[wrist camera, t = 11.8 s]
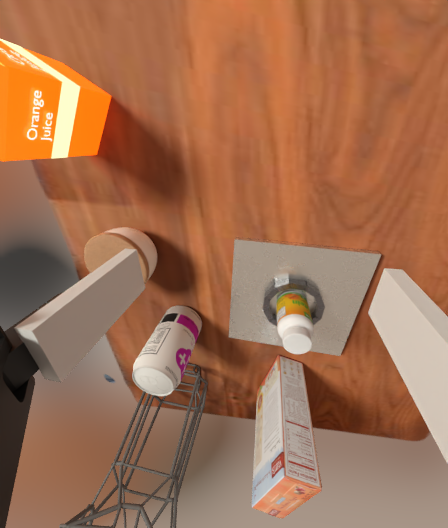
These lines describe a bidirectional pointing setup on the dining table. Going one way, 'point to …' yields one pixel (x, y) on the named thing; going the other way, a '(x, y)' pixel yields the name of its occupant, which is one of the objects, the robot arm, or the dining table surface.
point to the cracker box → (284, 442)
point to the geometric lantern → (77, 526)
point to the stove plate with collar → (298, 289)
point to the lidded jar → (115, 242)
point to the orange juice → (47, 108)
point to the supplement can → (167, 352)
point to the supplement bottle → (294, 322)
